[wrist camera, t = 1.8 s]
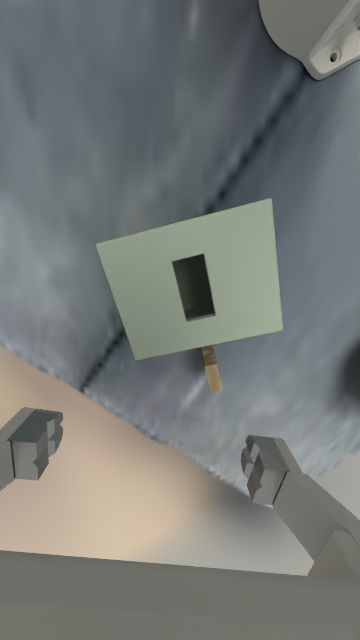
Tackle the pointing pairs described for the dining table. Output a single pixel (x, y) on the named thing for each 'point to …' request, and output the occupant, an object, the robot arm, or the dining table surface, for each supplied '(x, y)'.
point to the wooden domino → (211, 368)
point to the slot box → (196, 280)
